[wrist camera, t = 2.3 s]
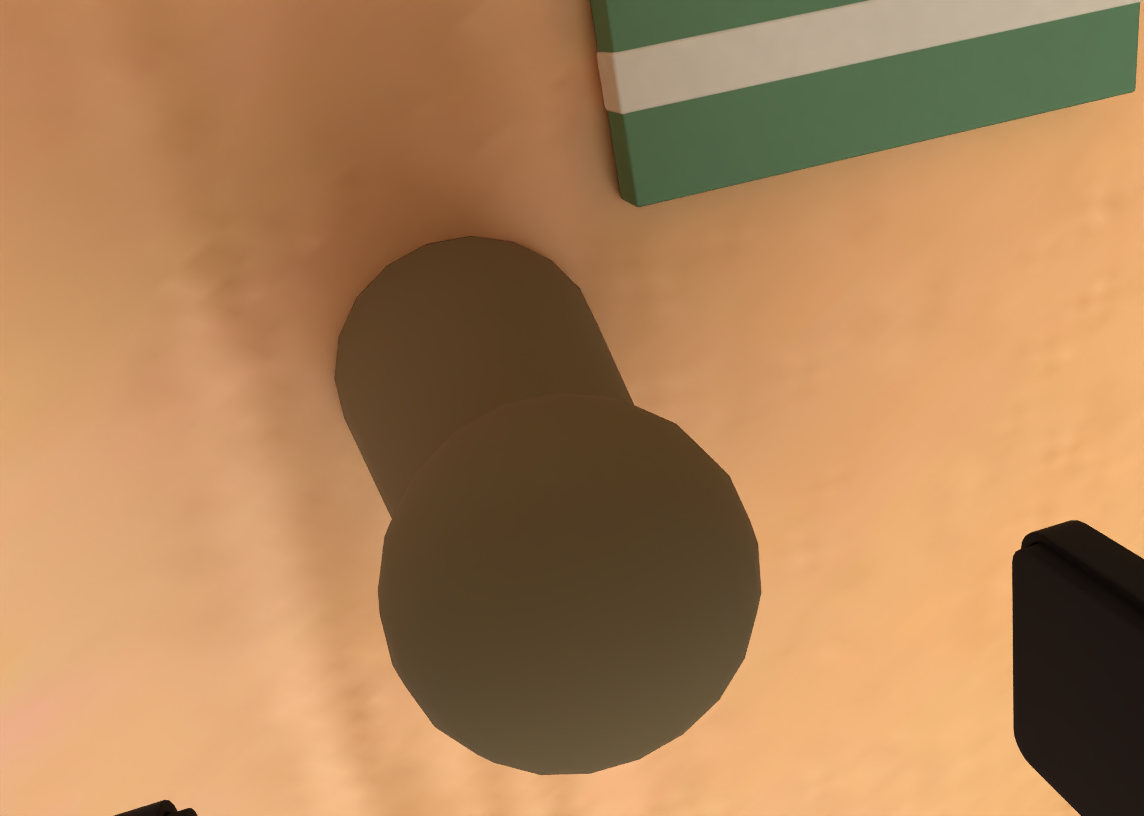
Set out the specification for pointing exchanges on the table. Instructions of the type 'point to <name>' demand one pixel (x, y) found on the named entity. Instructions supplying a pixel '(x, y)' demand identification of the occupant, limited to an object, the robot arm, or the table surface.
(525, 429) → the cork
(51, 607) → the table surface
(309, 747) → the table surface
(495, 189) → the table surface
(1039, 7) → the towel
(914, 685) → the table surface
